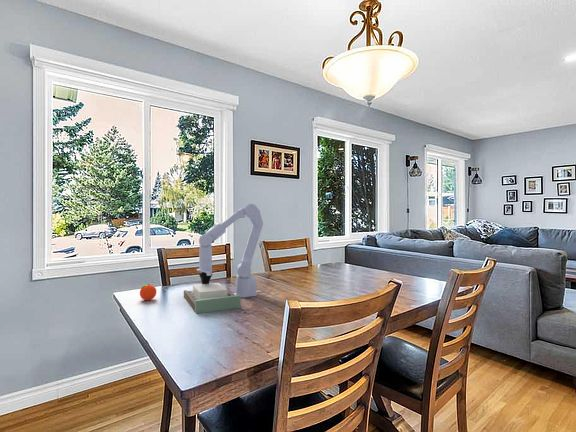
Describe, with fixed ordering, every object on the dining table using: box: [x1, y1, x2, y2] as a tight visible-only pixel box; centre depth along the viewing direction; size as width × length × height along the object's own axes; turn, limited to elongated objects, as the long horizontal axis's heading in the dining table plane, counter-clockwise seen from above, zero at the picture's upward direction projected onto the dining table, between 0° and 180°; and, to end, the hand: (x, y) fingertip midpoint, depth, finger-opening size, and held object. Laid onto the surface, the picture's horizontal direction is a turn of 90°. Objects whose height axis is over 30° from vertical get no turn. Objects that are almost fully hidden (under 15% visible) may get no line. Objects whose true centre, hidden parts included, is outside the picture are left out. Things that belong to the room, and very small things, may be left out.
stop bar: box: [194, 294, 241, 314], centre depth 135 cm, size 18×2×5 cm, turn 118°
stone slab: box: [192, 282, 228, 299], centre depth 147 cm, size 12×14×3 cm
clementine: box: [138, 284, 157, 301], centre depth 147 cm, size 8×7×7 cm
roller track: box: [183, 289, 234, 313], centre depth 147 cm, size 18×24×3 cm
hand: (205, 288), depth 155 cm, fingers closed
